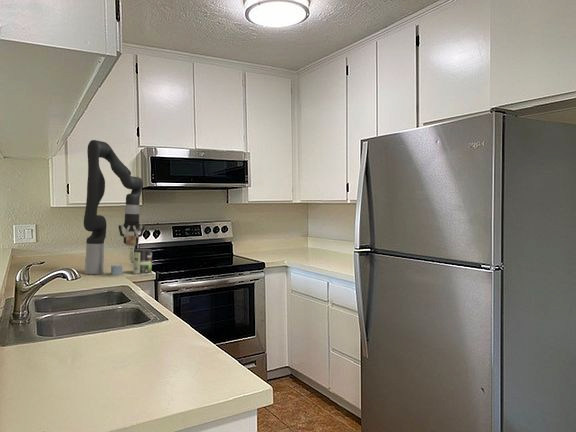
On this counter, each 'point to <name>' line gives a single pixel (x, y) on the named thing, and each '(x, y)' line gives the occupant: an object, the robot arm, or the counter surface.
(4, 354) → the counter surface
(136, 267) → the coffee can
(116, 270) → the slate-blue block
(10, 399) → the counter surface
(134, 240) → the walnut block
